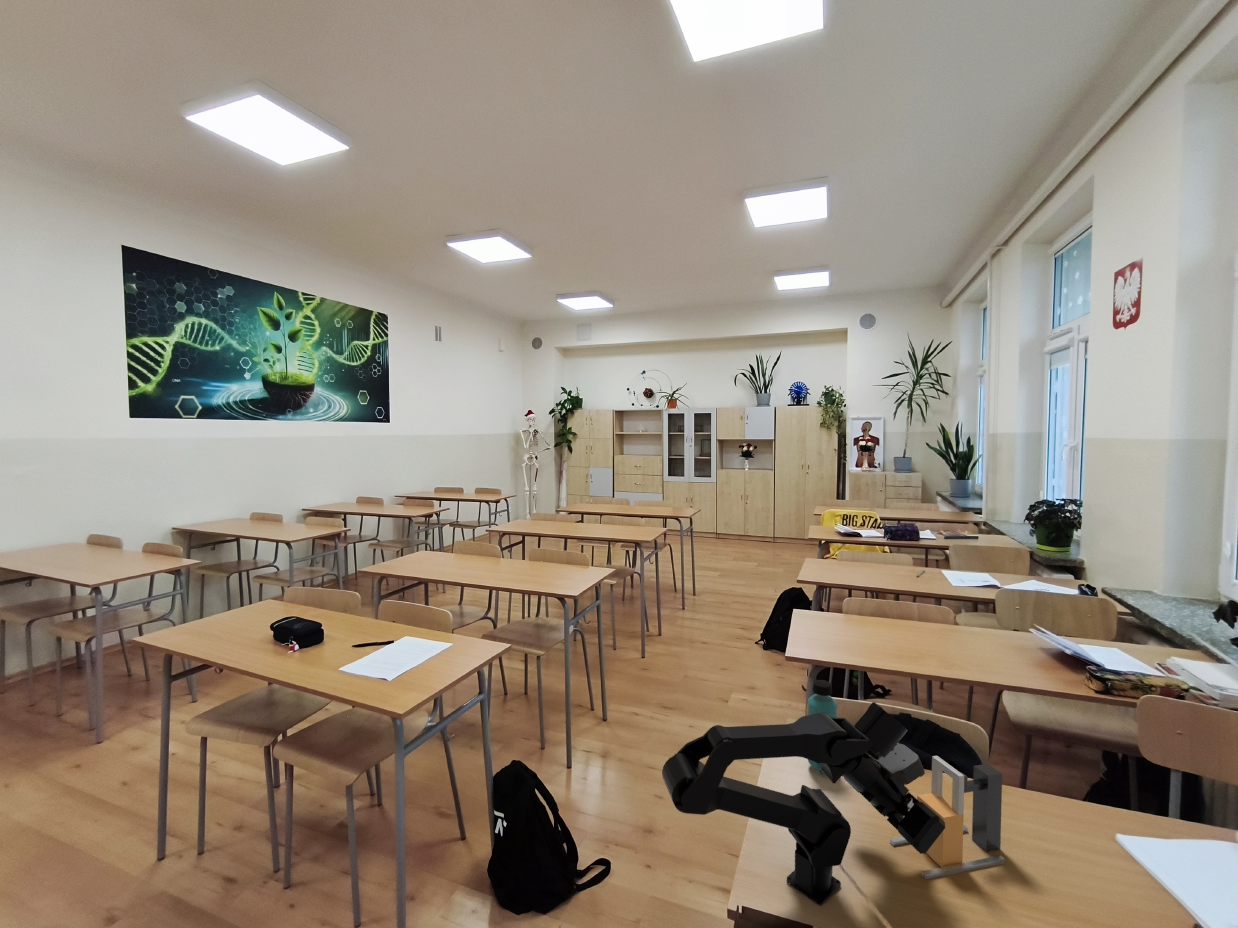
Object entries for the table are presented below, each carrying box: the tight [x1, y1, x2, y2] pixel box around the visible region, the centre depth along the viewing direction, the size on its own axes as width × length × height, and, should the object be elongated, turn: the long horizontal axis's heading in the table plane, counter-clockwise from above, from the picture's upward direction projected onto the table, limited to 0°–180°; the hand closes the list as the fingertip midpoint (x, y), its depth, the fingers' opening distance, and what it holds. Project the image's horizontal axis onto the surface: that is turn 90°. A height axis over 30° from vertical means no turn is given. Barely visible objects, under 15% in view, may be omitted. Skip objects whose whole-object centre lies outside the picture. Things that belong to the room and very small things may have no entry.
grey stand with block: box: [889, 763, 1006, 880], centre depth 96 cm, size 18×10×15 cm, turn 102°
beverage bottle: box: [807, 679, 838, 772], centre depth 122 cm, size 6×7×20 cm
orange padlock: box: [916, 755, 965, 868], centre depth 96 cm, size 4×6×16 cm, turn 12°
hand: (918, 825), depth 95 cm, fingers closed
